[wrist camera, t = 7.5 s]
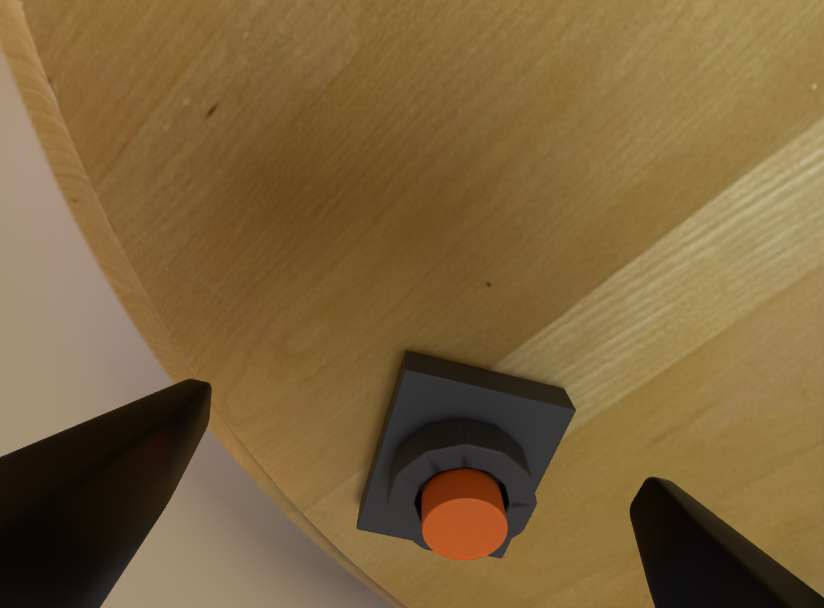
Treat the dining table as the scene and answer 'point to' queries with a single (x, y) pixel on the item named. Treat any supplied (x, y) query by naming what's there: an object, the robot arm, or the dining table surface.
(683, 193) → the dining table surface
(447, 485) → the button
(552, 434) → the button box
